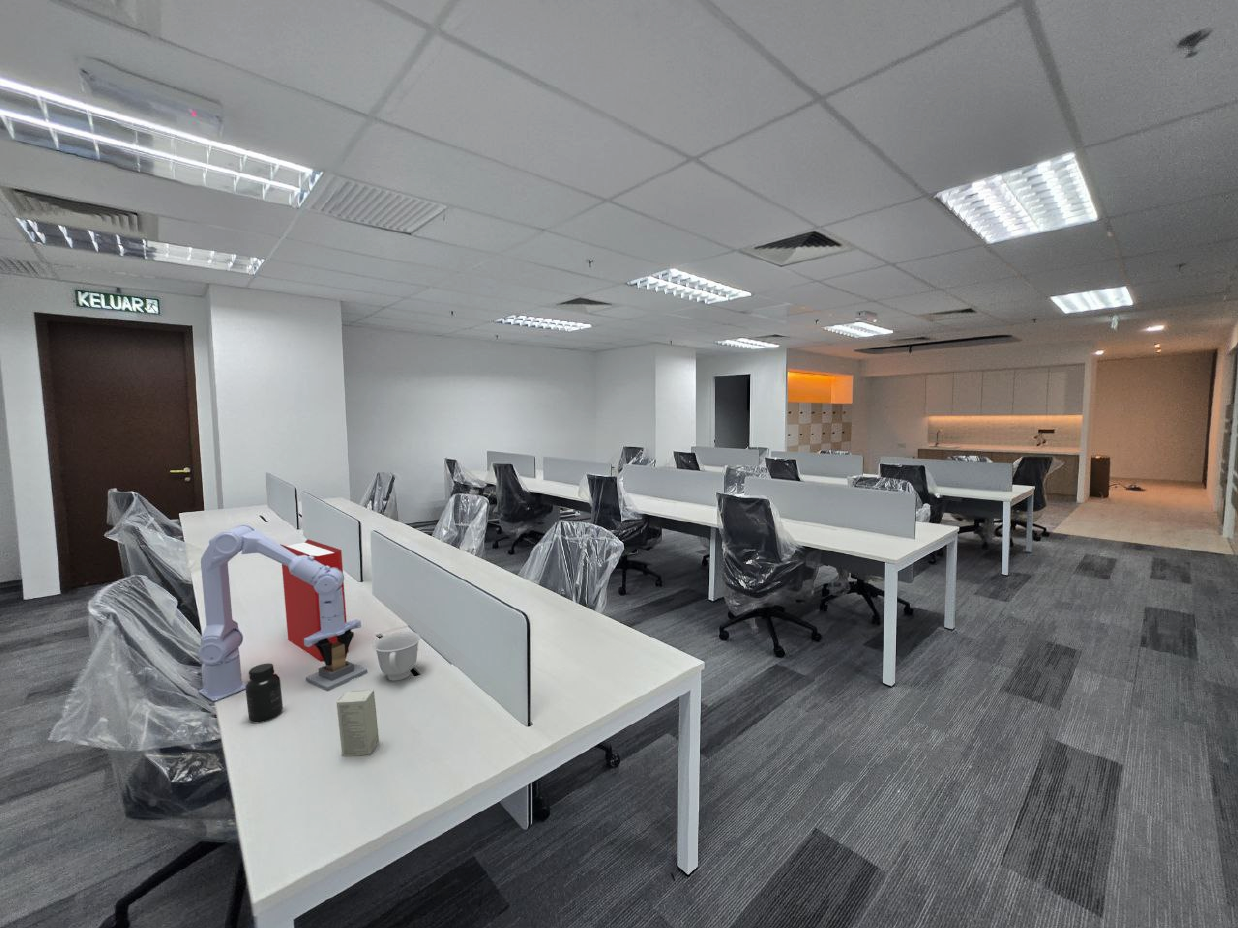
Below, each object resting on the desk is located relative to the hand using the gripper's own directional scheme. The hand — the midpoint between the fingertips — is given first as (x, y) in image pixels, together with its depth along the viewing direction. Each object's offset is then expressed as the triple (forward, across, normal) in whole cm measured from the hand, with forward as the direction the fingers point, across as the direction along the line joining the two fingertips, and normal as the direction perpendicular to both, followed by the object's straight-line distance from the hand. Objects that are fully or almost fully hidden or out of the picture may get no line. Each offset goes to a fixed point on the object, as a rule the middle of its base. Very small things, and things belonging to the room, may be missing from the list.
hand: (335, 661), depth 138 cm
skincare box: (+5, -15, -36) cm, 39 cm away
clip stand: (+4, 0, 0) cm, 4 cm away
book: (+5, +8, +25) cm, 27 cm away
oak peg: (+2, 0, 0) cm, 2 cm away
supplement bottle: (+5, -19, -3) cm, 20 cm away
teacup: (+5, +8, -16) cm, 18 cm away
